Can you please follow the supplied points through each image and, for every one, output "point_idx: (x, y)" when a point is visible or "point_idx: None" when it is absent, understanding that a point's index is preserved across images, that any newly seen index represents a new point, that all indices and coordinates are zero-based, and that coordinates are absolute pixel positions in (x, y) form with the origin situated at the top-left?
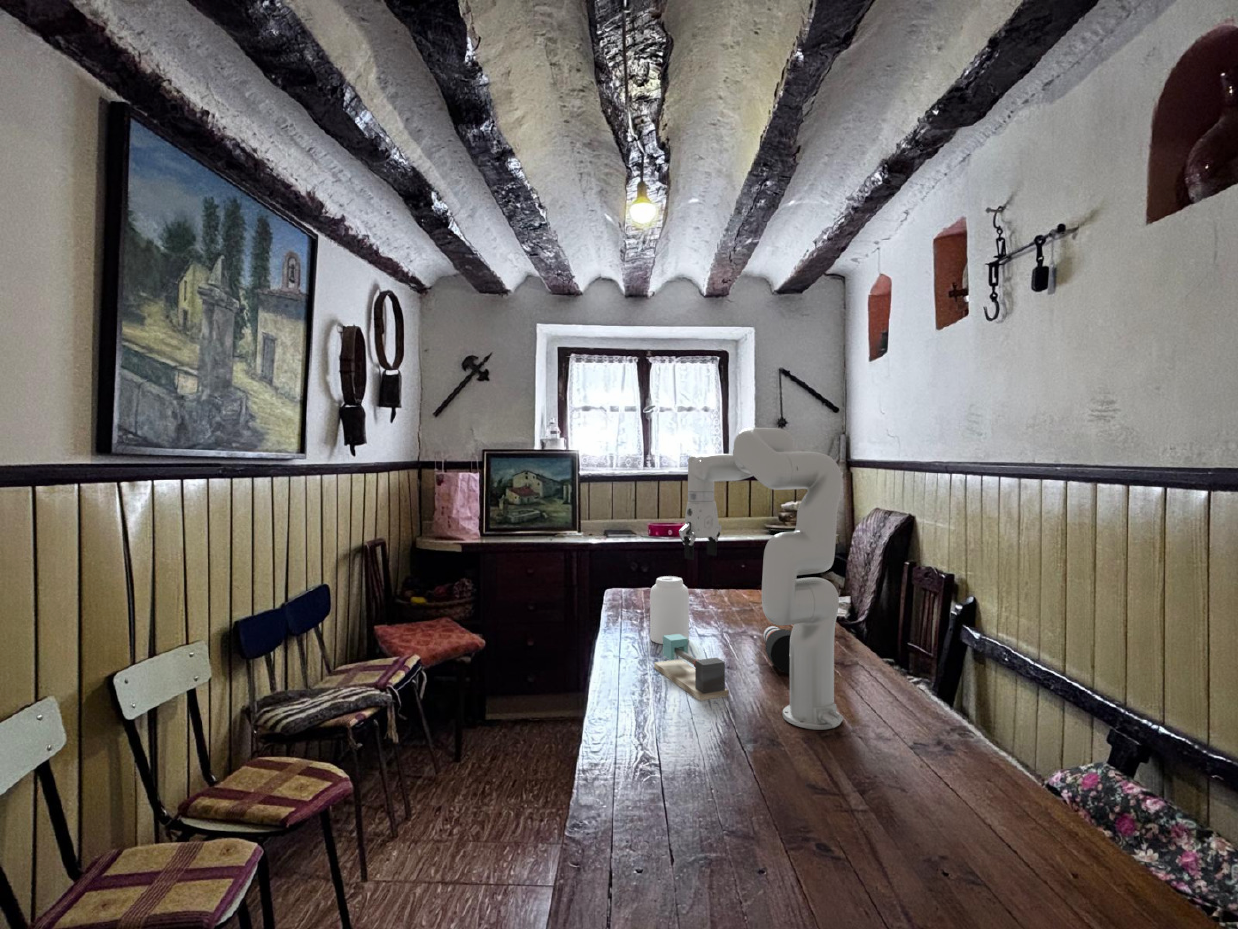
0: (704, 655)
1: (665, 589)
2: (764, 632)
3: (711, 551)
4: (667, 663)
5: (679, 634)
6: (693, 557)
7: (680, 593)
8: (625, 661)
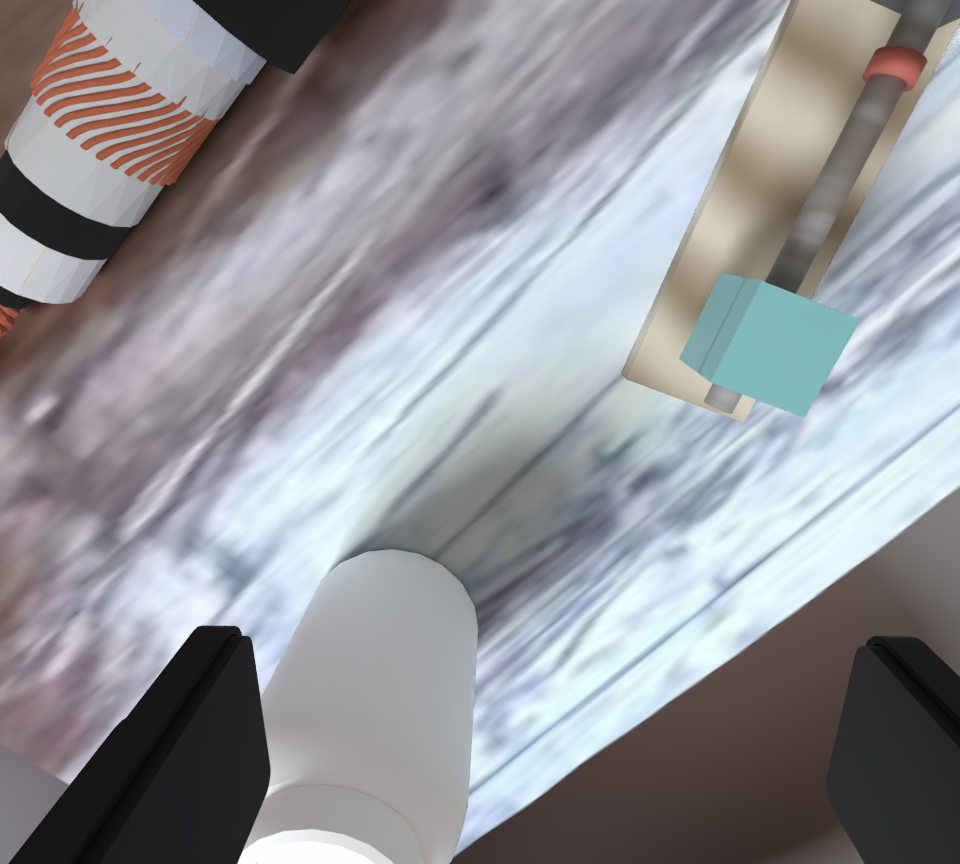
0: (441, 385)
1: (424, 806)
2: (55, 295)
3: (231, 747)
4: None
5: (720, 372)
6: (923, 652)
7: (353, 727)
8: (743, 548)
